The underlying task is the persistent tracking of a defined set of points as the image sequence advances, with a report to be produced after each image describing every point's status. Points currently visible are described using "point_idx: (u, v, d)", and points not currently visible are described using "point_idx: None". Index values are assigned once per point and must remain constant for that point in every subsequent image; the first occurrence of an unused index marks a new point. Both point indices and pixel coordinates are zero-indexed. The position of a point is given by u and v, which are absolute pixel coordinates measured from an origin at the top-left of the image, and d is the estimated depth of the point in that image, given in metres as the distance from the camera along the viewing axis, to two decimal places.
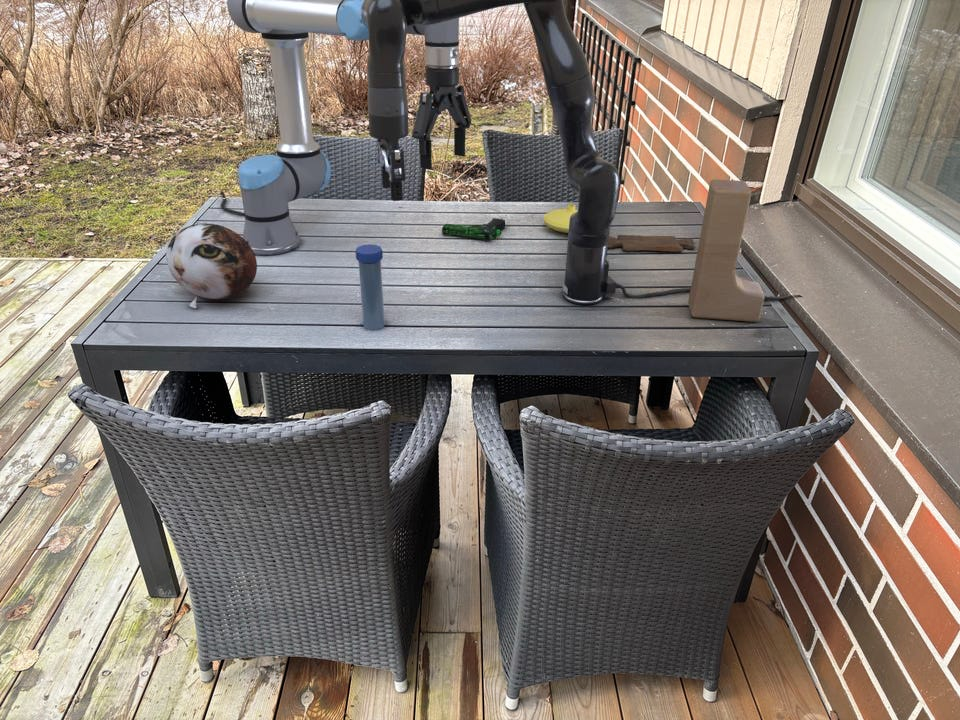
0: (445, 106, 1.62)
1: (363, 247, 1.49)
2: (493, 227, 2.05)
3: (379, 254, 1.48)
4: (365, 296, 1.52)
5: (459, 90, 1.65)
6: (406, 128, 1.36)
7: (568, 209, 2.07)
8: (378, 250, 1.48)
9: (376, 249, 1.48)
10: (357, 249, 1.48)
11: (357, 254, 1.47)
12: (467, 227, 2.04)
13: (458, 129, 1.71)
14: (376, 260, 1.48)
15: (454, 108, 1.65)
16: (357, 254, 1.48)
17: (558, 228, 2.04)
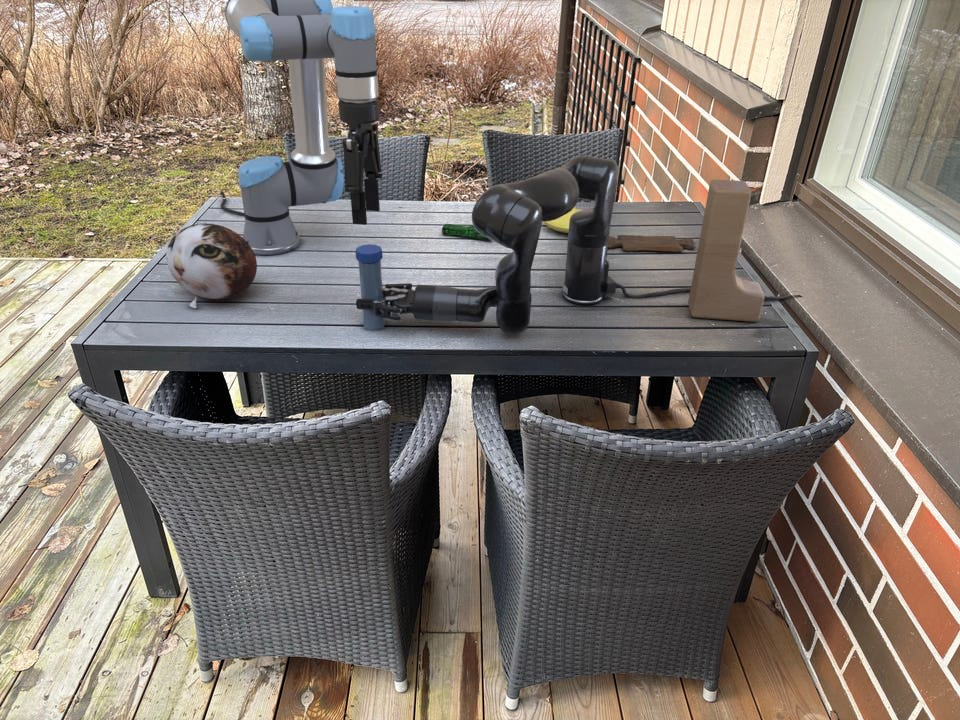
0: None
1: (363, 247, 1.49)
2: None
3: (379, 254, 1.48)
4: (365, 296, 1.52)
5: None
6: None
7: None
8: (378, 250, 1.48)
9: (376, 249, 1.48)
10: (357, 249, 1.48)
11: (357, 254, 1.47)
12: (467, 227, 2.04)
13: None
14: (376, 260, 1.48)
15: None
16: (357, 254, 1.48)
17: (558, 228, 2.04)
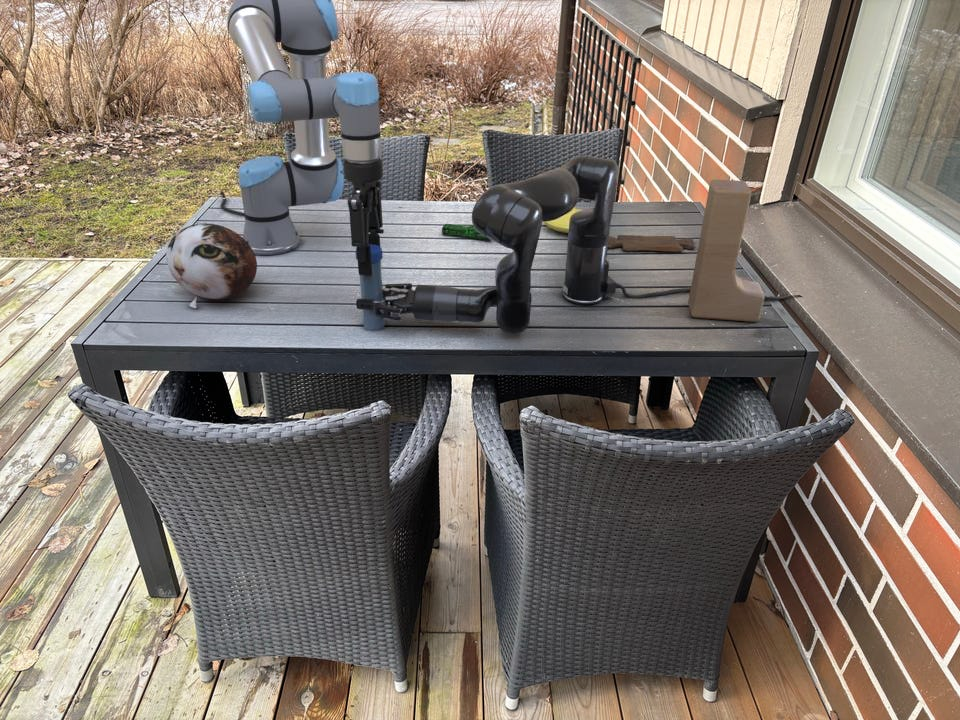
0: None
1: None
2: None
3: (379, 254, 1.48)
4: (365, 296, 1.52)
5: None
6: None
7: None
8: (378, 250, 1.48)
9: (376, 249, 1.48)
10: None
11: None
12: (467, 227, 2.04)
13: None
14: (376, 260, 1.48)
15: None
16: None
17: (558, 228, 2.04)
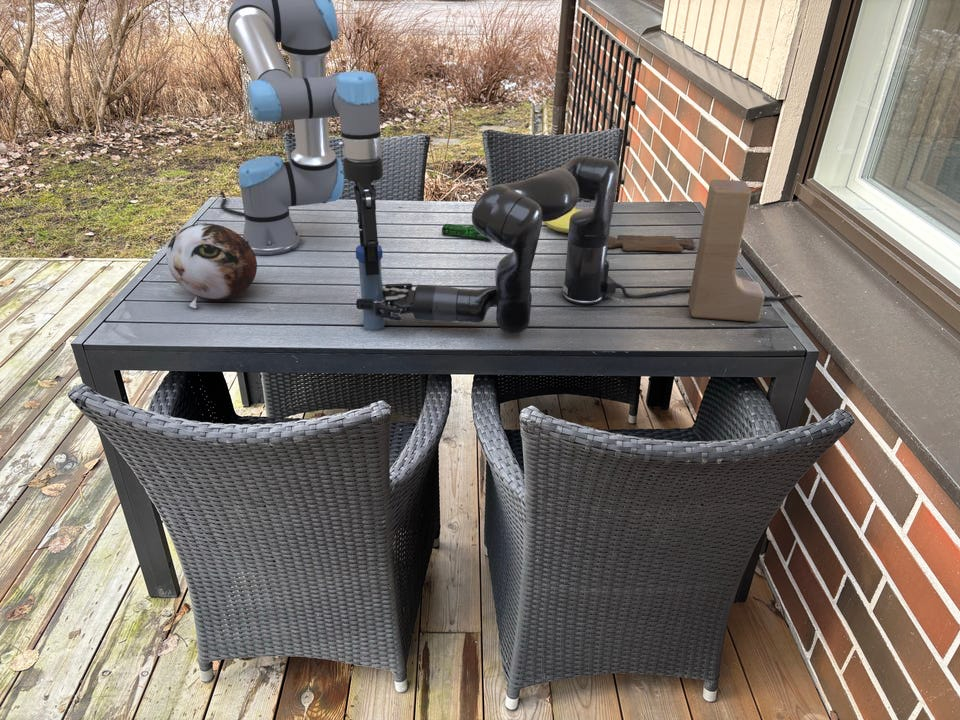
0: None
1: (363, 249, 1.48)
2: None
3: None
4: (365, 296, 1.52)
5: None
6: None
7: None
8: None
9: None
10: None
11: None
12: (467, 227, 2.04)
13: None
14: None
15: None
16: None
17: (558, 228, 2.04)
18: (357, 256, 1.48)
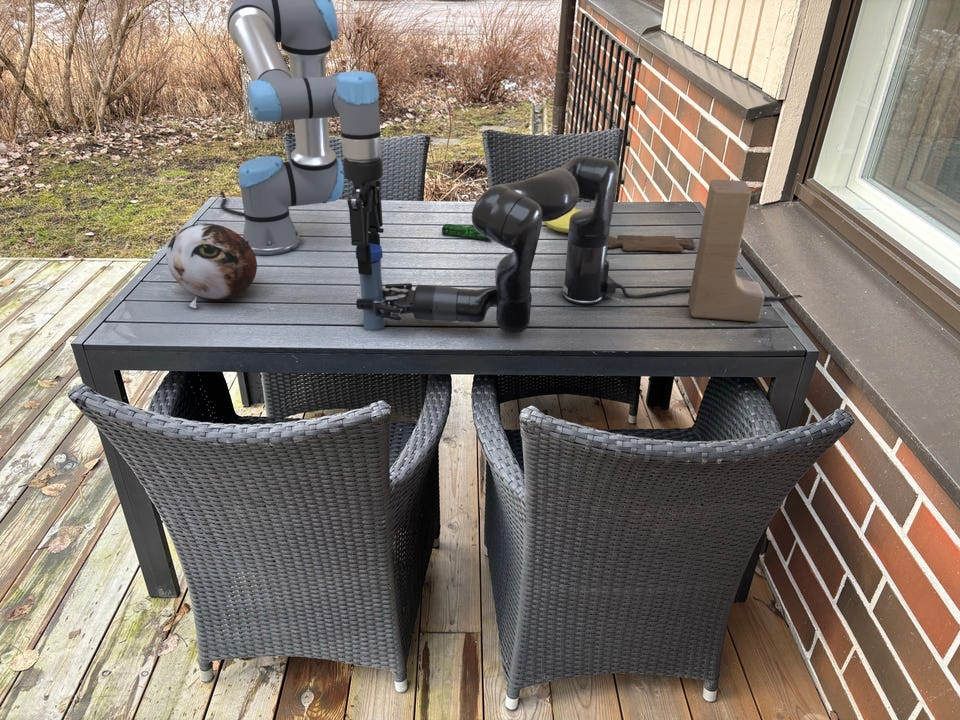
0: None
1: None
2: None
3: None
4: (365, 296, 1.52)
5: None
6: None
7: None
8: (376, 245, 1.50)
9: (372, 245, 1.50)
10: None
11: (371, 255, 1.47)
12: (467, 227, 2.04)
13: None
14: None
15: None
16: None
17: (558, 228, 2.04)
18: None
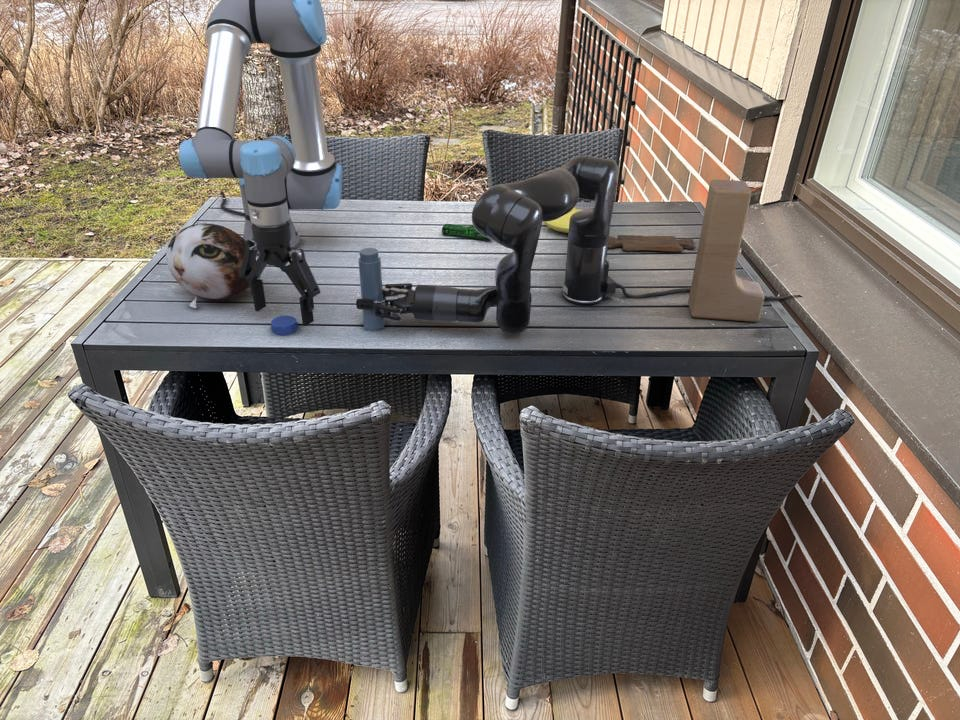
0: (270, 262, 1.47)
1: (284, 323, 1.53)
2: None
3: None
4: (365, 296, 1.52)
5: None
6: None
7: None
8: (279, 317, 1.56)
9: (279, 318, 1.55)
10: (292, 323, 1.54)
11: (296, 322, 1.55)
12: (467, 227, 2.04)
13: None
14: None
15: None
16: (296, 323, 1.55)
17: (558, 228, 2.04)
18: (284, 332, 1.53)
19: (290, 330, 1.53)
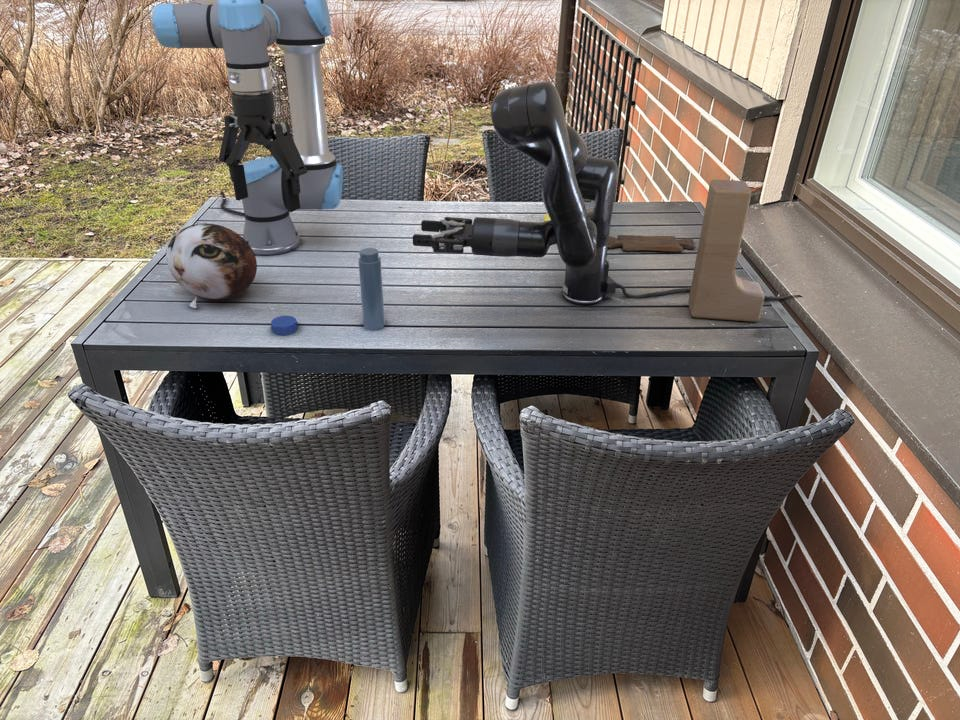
0: (252, 139, 1.34)
1: (284, 323, 1.53)
2: None
3: None
4: (365, 296, 1.52)
5: None
6: None
7: None
8: (279, 317, 1.56)
9: (279, 318, 1.55)
10: (292, 323, 1.54)
11: (296, 322, 1.55)
12: None
13: None
14: None
15: None
16: (296, 323, 1.55)
17: None
18: (284, 332, 1.53)
19: (290, 330, 1.53)
